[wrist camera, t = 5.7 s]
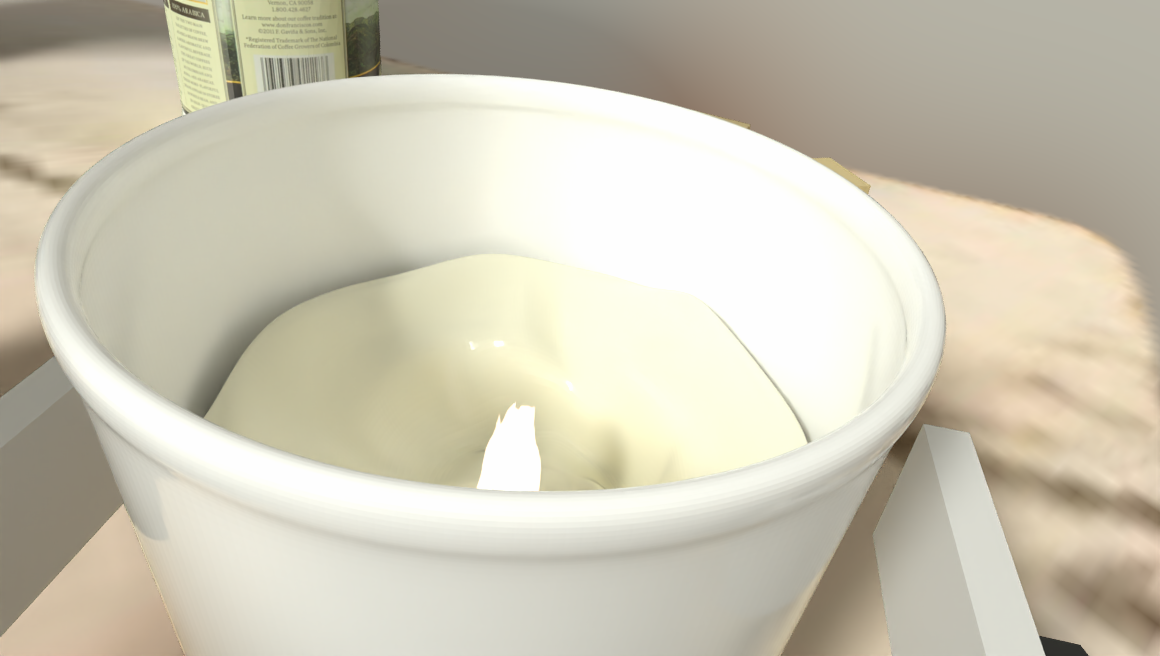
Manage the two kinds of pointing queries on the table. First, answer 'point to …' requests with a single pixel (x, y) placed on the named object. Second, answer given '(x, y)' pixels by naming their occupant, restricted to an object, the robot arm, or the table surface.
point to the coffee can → (268, 45)
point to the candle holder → (484, 367)
